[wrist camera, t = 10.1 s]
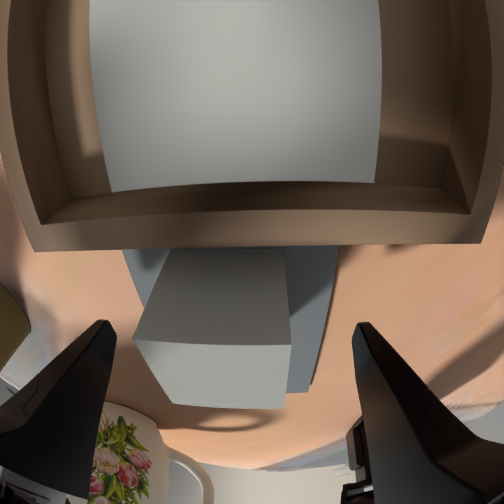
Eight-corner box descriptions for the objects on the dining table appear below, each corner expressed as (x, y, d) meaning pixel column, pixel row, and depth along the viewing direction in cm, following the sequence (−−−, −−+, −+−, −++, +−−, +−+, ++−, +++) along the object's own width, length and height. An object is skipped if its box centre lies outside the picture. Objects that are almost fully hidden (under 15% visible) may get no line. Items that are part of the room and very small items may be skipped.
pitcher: (208, 448, 27) (199, 542, 16) (70, 405, 24) (44, 494, 13) (233, 426, 21) (223, 560, 10) (46, 365, 18) (4, 487, 7)
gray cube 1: (318, 1, 5) (368, -59, 1) (321, 132, 7) (374, 182, 4) (168, 10, 5) (92, -32, 2) (178, 137, 7) (112, 192, 4)
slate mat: (339, 216, 9) (342, 222, 9) (307, 386, 16) (307, 392, 16) (119, 223, 10) (115, 229, 9) (184, 385, 16) (183, 390, 16)
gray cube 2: (282, 248, 9) (291, 344, 6) (280, 324, 12) (283, 408, 8) (169, 250, 10) (132, 338, 6) (190, 324, 12) (172, 403, 9)
